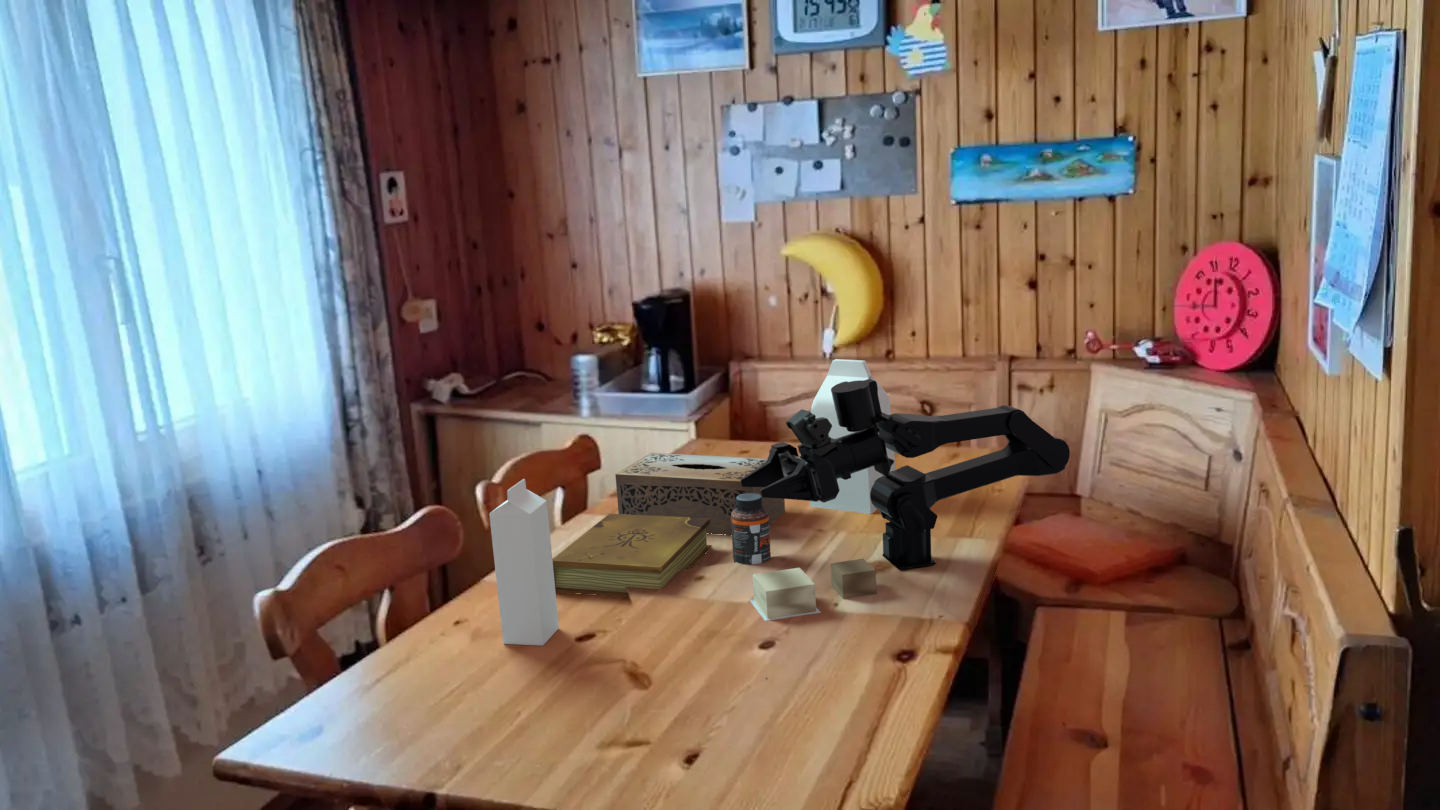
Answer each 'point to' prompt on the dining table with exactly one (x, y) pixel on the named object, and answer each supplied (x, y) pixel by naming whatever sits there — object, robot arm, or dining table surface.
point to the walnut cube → (853, 578)
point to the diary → (630, 554)
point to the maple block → (784, 593)
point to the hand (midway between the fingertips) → (751, 488)
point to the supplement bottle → (750, 530)
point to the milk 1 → (524, 568)
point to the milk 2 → (859, 485)
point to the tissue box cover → (690, 488)
